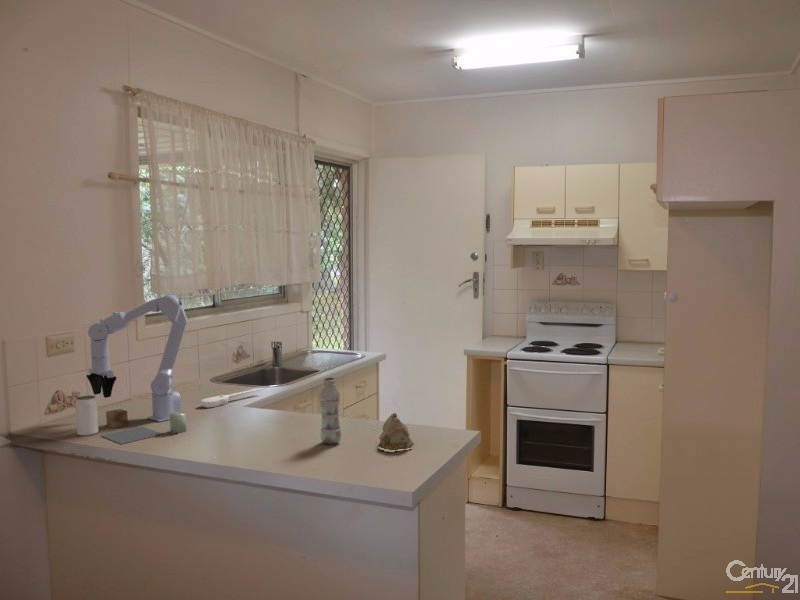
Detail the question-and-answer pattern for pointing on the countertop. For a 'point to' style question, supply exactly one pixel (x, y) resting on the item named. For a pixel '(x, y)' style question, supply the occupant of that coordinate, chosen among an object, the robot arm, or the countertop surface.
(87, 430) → the can
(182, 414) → the sage cylinder
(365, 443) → the countertop surface
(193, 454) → the countertop surface
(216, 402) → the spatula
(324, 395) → the plastic bottle
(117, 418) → the walnut block
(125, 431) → the slate mat
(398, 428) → the ceramic model
